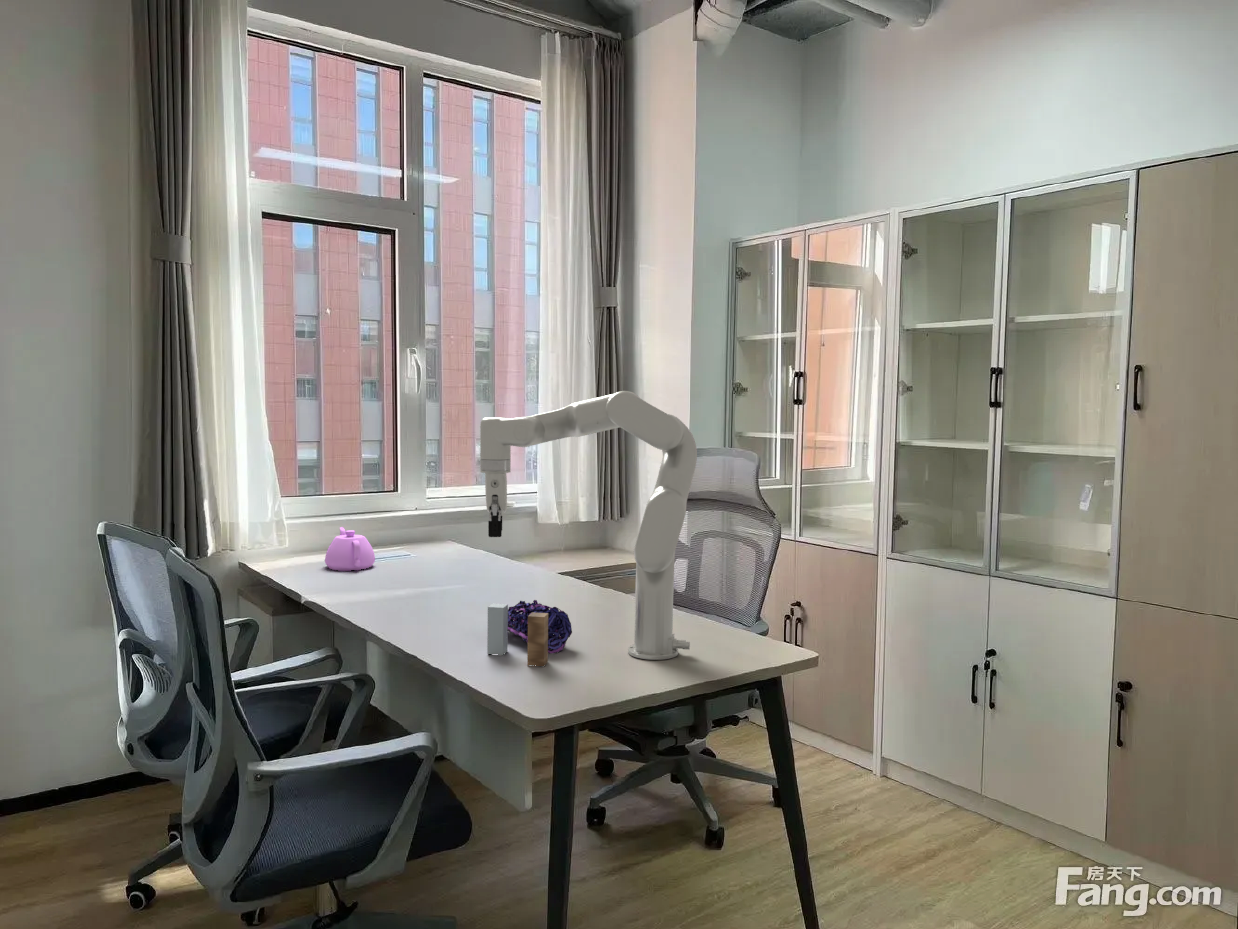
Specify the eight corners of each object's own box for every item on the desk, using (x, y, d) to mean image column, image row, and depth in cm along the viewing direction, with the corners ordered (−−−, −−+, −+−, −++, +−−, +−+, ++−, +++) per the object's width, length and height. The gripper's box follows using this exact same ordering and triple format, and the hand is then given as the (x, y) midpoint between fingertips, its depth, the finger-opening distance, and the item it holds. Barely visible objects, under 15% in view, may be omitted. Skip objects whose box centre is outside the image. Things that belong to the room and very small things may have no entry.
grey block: (507, 651, 230) (507, 604, 229) (503, 655, 226) (503, 607, 225) (492, 650, 230) (492, 603, 229) (487, 654, 226) (487, 607, 225)
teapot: (383, 570, 333) (383, 533, 332) (333, 574, 324) (333, 536, 323) (363, 559, 354) (363, 524, 353) (316, 563, 345) (316, 527, 344)
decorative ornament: (529, 629, 224) (477, 602, 249) (539, 668, 226) (486, 637, 251) (574, 608, 231) (519, 584, 255) (583, 646, 233) (528, 618, 258)
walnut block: (547, 662, 221) (548, 613, 220) (543, 667, 217) (544, 617, 216) (531, 661, 222) (532, 612, 221) (527, 666, 218) (527, 616, 217)
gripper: (510, 469, 222) (510, 539, 223) (510, 464, 239) (510, 529, 240) (478, 469, 221) (479, 539, 222) (481, 464, 238) (481, 529, 240)
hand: (495, 534), depth 231 cm, fingers open, 9 cm apart
